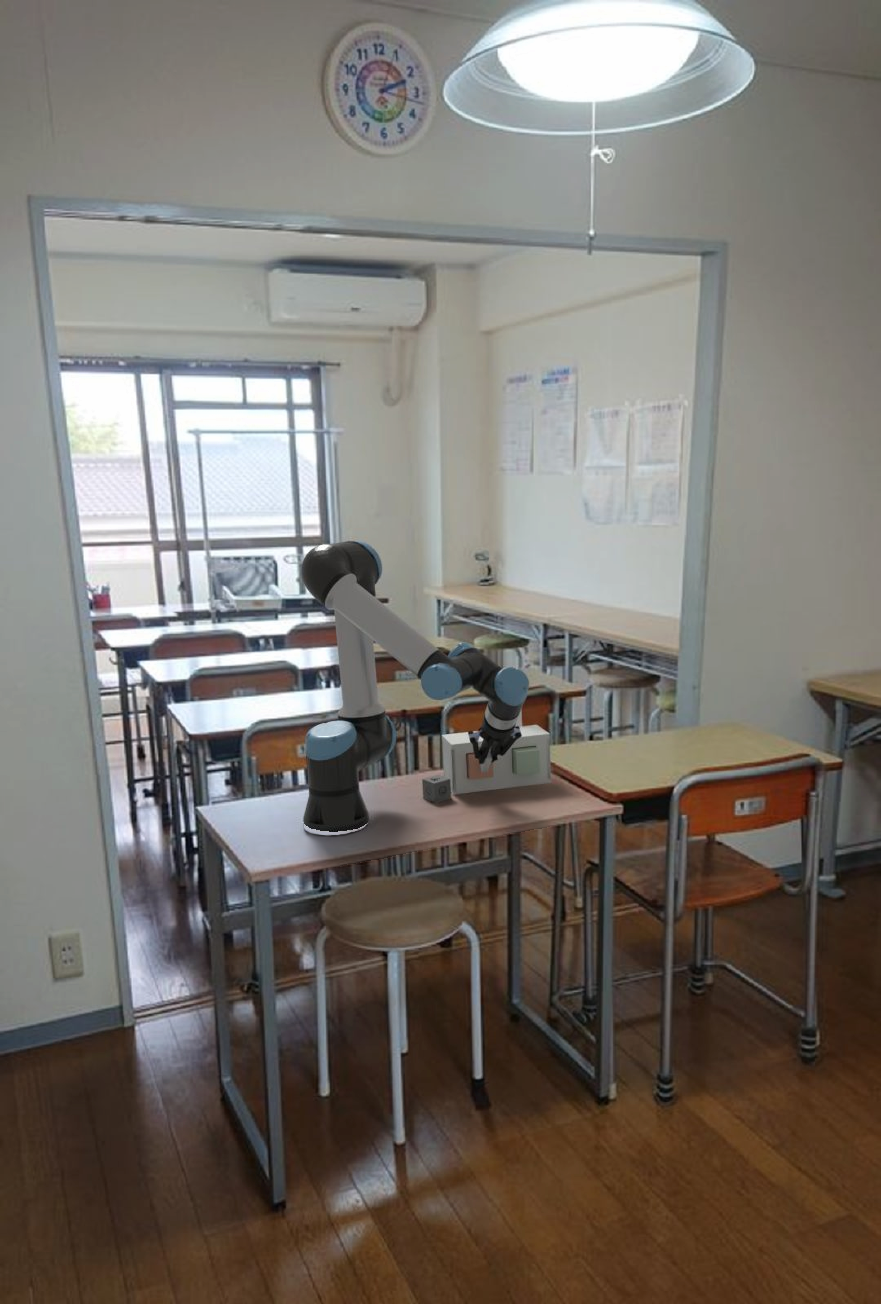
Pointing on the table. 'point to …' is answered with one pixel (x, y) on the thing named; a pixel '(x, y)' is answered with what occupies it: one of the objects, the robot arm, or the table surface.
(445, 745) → the box
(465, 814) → the table surface
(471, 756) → the terracotta button
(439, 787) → the dice cube
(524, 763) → the sage button
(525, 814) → the table surface
